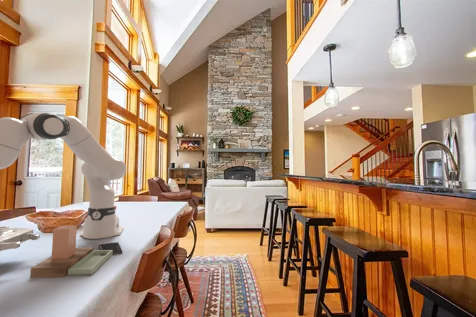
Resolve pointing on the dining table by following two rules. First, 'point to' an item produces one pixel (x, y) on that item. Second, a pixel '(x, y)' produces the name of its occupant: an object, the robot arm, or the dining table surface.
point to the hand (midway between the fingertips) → (29, 240)
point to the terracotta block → (64, 242)
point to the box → (90, 263)
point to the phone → (111, 248)
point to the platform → (59, 264)
